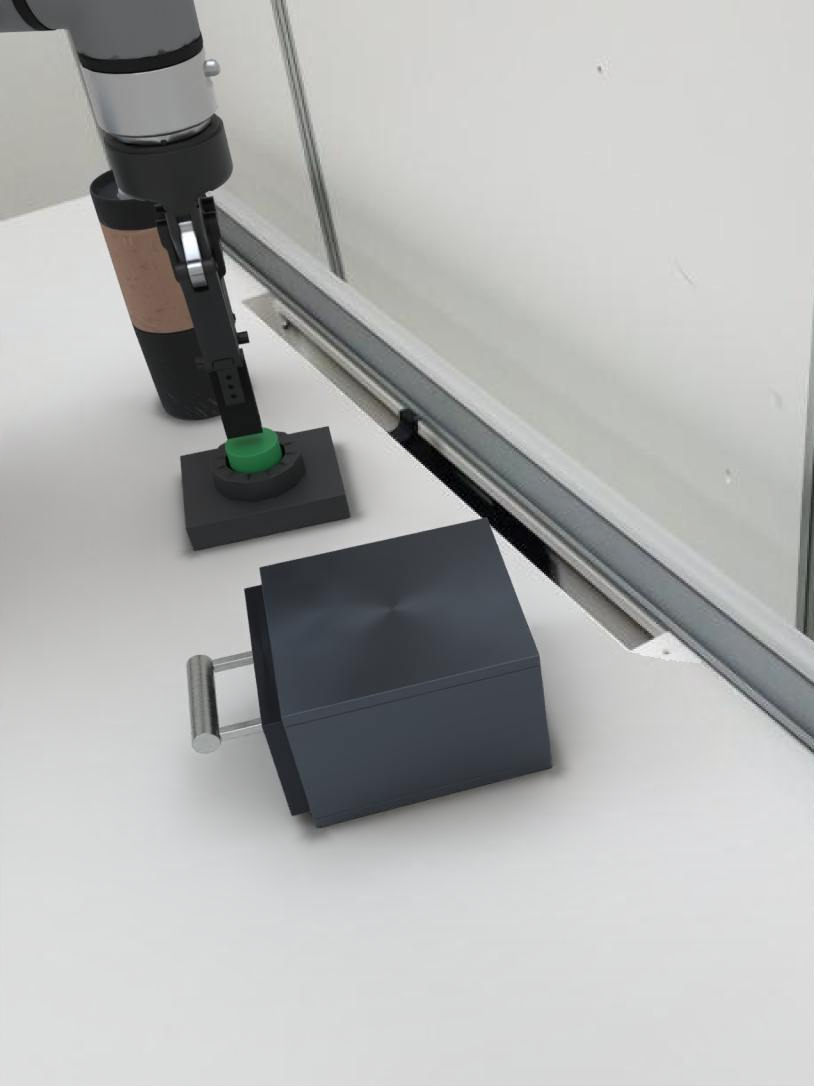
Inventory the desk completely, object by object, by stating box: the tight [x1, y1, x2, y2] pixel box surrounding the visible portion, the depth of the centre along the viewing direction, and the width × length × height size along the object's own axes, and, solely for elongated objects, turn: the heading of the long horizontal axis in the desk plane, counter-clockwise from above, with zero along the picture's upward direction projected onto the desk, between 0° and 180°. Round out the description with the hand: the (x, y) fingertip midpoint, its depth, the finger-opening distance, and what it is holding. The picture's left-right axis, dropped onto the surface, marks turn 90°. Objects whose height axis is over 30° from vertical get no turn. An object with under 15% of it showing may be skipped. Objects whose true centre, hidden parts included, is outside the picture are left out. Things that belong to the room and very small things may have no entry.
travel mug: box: [89, 168, 220, 421], centre depth 106 cm, size 8×8×20 cm
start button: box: [225, 426, 282, 473], centre depth 98 cm, size 4×4×2 cm
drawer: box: [185, 584, 311, 817], centre depth 78 cm, size 18×12×8 cm
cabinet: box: [258, 517, 553, 829], centre depth 79 cm, size 15×14×10 cm
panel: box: [179, 425, 351, 551], centre depth 100 cm, size 12×10×4 cm
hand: (244, 430), depth 97 cm, fingers closed
